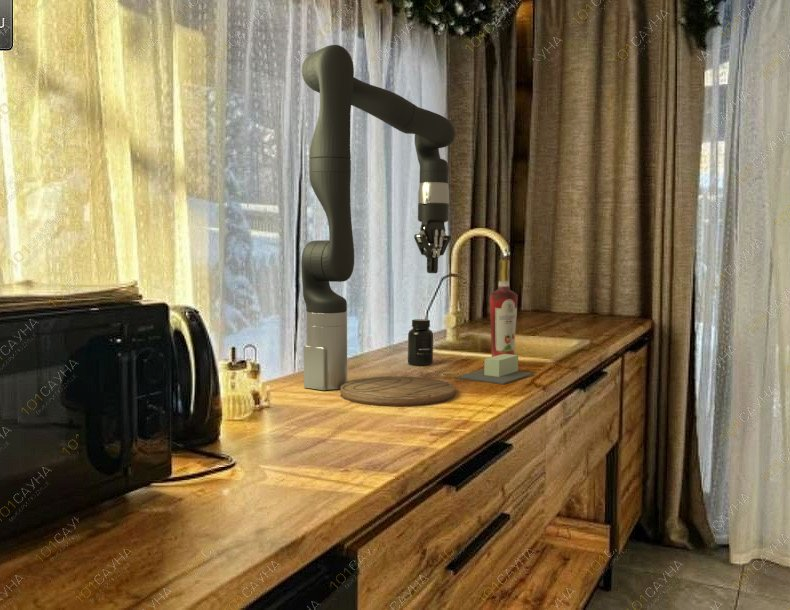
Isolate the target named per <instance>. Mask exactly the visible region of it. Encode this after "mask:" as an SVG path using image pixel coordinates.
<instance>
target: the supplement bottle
mask: <svg viewBox="0 0 790 610" xmlns="http://www.w3.org/2000/svg"><path fill="white" fill-rule="evenodd" d="M411 327H412V328H411V329H410V330H409V331H408V333H407V363H408V365H410V366H414V367H415V366H418V367H425V366H426V367H427V366H431V365H433V361H434V331H432V330H431V329H430V328H431V320H430V319H424V318H421V319H420V318H417V319H415V318H413V319H412V320H411Z"/></svg>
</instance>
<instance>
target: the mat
mask: <svg viewBox="0 0 790 610" xmlns="http://www.w3.org/2000/svg"><path fill="white" fill-rule="evenodd" d="M533 374H534V375H535V373H534V372H529V371H520V370H518V371H516V372H513V373H510V374H506V375H503V376H500V377H497V376H488V375H484V368H481V369H479V370H474V371H472V372H468V373H465V374H461V375H458V376H457V375H456V376H455V379H457V380H458V379H459V380H467V381H472V382H473V381H476V382H482V383H489V384H498V385H507V384H510V383H512V382H515V381H518V379H519V380H521V378H522V379H525V378H528V377H530V375H531V376H533ZM527 376H528V377H527ZM524 377H525V378H524Z"/></svg>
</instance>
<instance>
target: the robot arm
mask: <svg viewBox="0 0 790 610" xmlns="http://www.w3.org/2000/svg"><path fill="white" fill-rule="evenodd" d="M301 76H302V79H303V81H304V83H305V84H306V86H308V87H309V88H310V89H311V90H312V91H315V92H316V93H319V111H318V112H319V113H318V118H317V120H316V121H317V122H316V126H315V128H314V132H313V135H312V138H311V142H310V147H309V155H308V160H309V161H308V162H309V164H308V165H309V172H308V173H309V174H308V175H309V183H310V186H311V188H312V190H313V192H314V194H315V196H316V198H317V200H318V201H319V203H320V206H321V207H322V209H323V211H324V212H325V215H326V219H327V223H328V231H329V234H328V236H329V237H328V238H329V239H327V240H326V239H325V240H311V241H309V242H307V244H306V245H305V246H304V247H303V250H302V255H301V279H302V280H301V281H302V284H301V285H302V296H303V300H304V303H305V309H306V310H305V312H306V315H305V316H306V321H305V322H306V326H305V327H306V330H305V331H306V345H304V346H303V388H306V389H313V390H319V391H328V390H330V391H331V390H341V386H342V385H343V384H345V383H347V382H348V302H347V299H346V298H345V297H343V296H341V295H339V294H337V293H336V292H335V291H334V290H333V289H332V288H331V285H330V282H333V283H334V282H336V283H337V282H339V283H343V282H346V281H348V280H349V279H350V278H351V276H352V275H353V272H354V269H355V268H354V267H355V245H354V235H353V224H352V209H351V208H352V207H351V206H352V205H351V200H352V199H351V182H352V181H351V180H352V179H351V178H352V177H351V176H352V175H351V173H352V168H351V167H352V160H351V159H352V156H351V155H352V154H351V153H352V152H351V111H352V107H354V108H357V109H358V110H361V111H364V112H365V113H367V114H369V115H371V116H373V117H375V118H377V119H378V120H380V121H382V122H384V123H385V124H387V125H389V126H390V127H392V128H394V129H395V130H397V131H399V132H401V133H403V134H407V135H408V134H409V135H414V146H415V152H416V156H417V161H418V164H419V184H418V185H419V186H418V192H417V193H418V194H417V195H418V196H417V220H418V222H420V223H421V225H420V232H419V233H418V234H417V233H416V234H415V233H414V235H413V238H414V240H415V242H416V243H415V244H416V245H417V248H418V250H419V252H420V254H421V256H424V257H425V258H426V273H427V274H437V273H438V272H439V271H438V270H439V267H438V266H439V258H440V257H442V256H444V255H445V252H446V249H447V248H448V246H449V243H450V241H451V235H447V234H446V227H445V226H446V225H445V223H447V222H448V221H449V216H450V215H449V214H450V213H449V209H450V206H449V205H450V204H449V203H450V190H449V163H448V161H447V160H446V159H444V158H441V156H440V155H441V154H440V149H443V148H446V147H448V146H451V144H453V142H454V141H455V138H456V129H455V127H454V125H453V123H452V122H451V121H450V119H448V118H447V117H445V116H442V115H441V114H439V113H436V112H434V111H430V110H428V109H426V108H421V107H419V106H417V105H416V104H414V103H413V102H411V101H409V99H406V98H405V97H403V96H401V95H399V94H398V93H395V92H393V91H390V90H388V89H385V88H382V87H378V86H375V85H373V84H370V83H368V82H365V81H362V80H360V79H358V78H356V77H355V68H354V61H353V57H352V56H351V54H350V53H349V51H348V50H347V49H346V48H345V47H343V46H342V45H339V44H329V45H327V46H325V47H322V48H321V49H318V50H315V51H314V52H312V53H311V54H309V55H308V56H307V57H306V58H305V59H304V60H303V63H302V64H301Z"/></svg>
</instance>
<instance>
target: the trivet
mask: <svg viewBox="0 0 790 610" xmlns="http://www.w3.org/2000/svg"><path fill="white" fill-rule="evenodd" d="M455 395H456V387H455V385H454V384H453V383H451V382H448V381H445V380H442V379H441V380H440V379H435V378H429V377H419V376H401V375H400V376H398V375H397V376H396V375H395V376H377V377H374V376H373V377H365V378H359V379H354V380H351V381H347V383H345V384H343V385H342V386H341V388H340V397H341V398H342V399H343V400H345V401H348V402H351V403H355V404H359V405H364V406H375V407H387V408H388V407H393V408H397V407H399V408H400V407H401V408H402V407H404V408H405V407H407V408H408V407H419V406H420V407H421V406H423V407H424V406H430V405H435V404H441V403H444V402H445V403H446V402H448V401H451V400H452V399H454V397H455Z"/></svg>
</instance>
